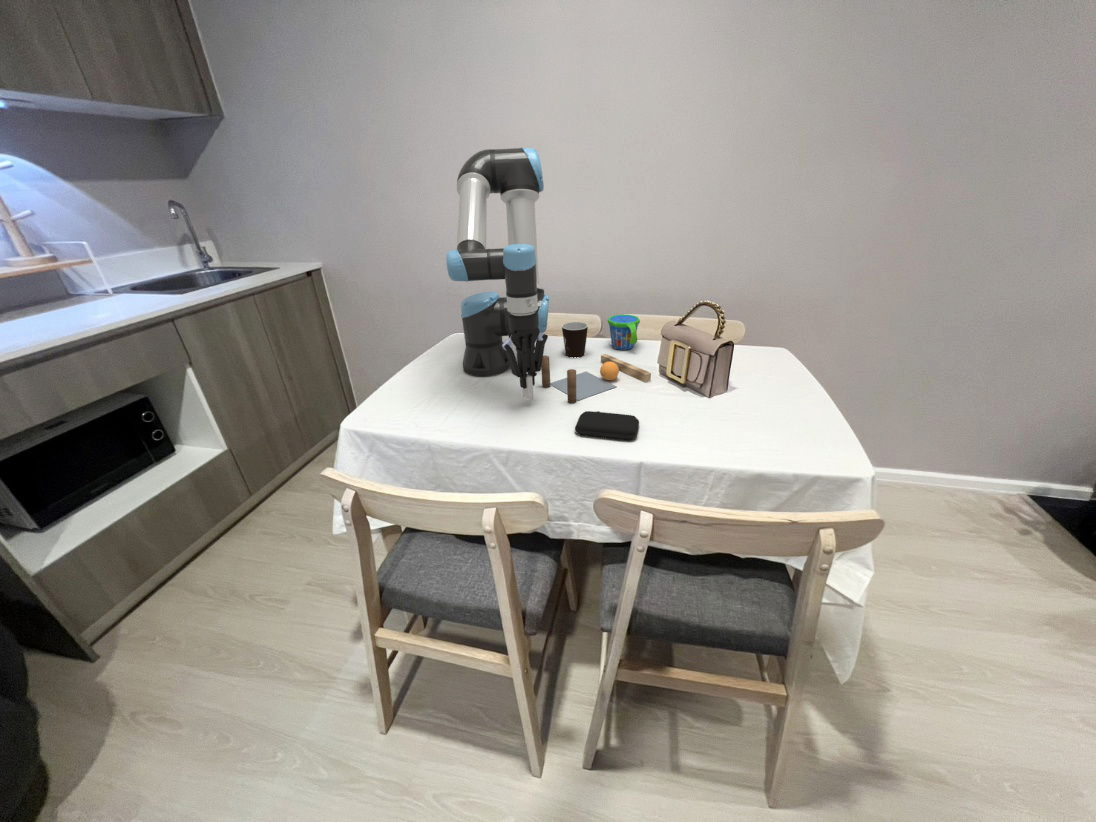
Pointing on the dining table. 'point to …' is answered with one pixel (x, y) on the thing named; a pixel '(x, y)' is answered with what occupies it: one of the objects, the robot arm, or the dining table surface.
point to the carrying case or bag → (607, 425)
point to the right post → (571, 385)
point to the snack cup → (623, 331)
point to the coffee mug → (574, 338)
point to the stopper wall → (628, 368)
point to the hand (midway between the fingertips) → (528, 397)
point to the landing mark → (585, 385)
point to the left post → (545, 372)
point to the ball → (609, 370)
